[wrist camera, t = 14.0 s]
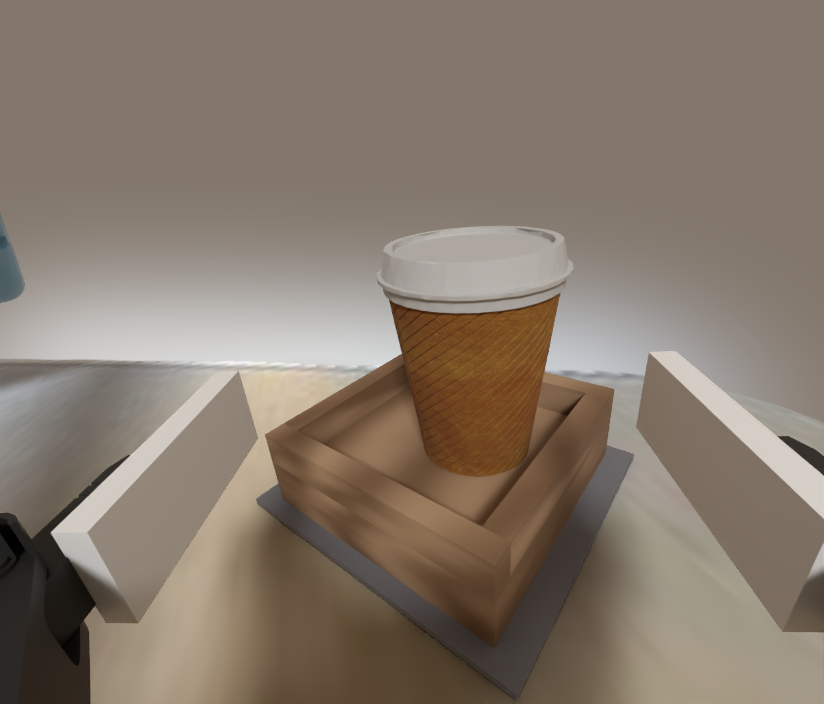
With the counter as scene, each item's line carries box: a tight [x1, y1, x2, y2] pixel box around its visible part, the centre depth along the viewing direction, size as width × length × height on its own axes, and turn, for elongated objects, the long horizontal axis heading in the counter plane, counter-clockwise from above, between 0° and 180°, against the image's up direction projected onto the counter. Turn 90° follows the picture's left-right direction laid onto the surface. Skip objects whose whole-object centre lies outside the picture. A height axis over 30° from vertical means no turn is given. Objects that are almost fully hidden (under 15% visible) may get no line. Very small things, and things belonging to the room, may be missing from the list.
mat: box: [256, 445, 634, 701], centre depth 27 cm, size 18×17×1 cm
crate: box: [265, 354, 614, 648], centre depth 26 cm, size 15×15×5 cm
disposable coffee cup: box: [376, 226, 573, 477], centre depth 23 cm, size 10×10×12 cm
